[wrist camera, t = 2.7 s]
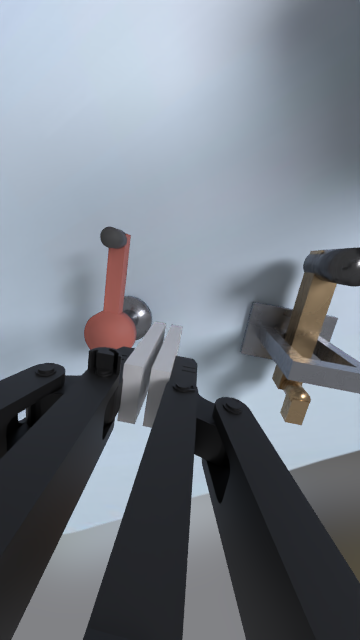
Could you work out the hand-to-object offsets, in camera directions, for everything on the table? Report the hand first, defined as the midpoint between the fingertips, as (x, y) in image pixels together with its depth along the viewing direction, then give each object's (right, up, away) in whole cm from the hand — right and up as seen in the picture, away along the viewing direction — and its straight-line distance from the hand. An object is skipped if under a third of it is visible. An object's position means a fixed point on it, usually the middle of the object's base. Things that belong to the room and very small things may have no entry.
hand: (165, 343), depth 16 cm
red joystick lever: (-7, +4, +13) cm, 15 cm away
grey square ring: (+17, -1, +20) cm, 26 cm away
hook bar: (+17, 0, +16) cm, 24 cm away
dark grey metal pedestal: (-7, +2, +21) cm, 22 cm away
